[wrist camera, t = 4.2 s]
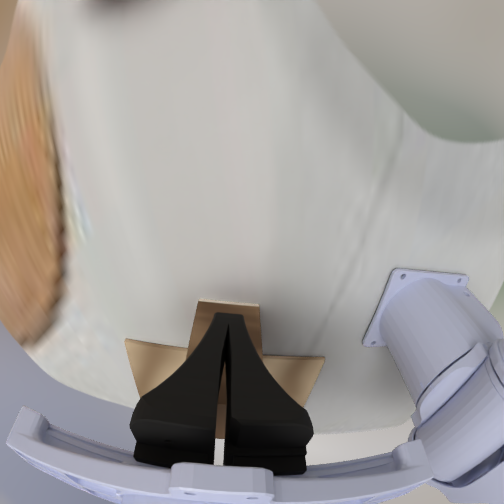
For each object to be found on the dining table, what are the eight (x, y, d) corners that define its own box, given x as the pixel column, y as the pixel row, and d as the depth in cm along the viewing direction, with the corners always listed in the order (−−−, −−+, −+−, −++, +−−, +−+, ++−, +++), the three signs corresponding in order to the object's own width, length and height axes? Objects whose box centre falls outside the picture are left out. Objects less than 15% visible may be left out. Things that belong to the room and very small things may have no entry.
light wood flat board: (324, 356, 24) (325, 359, 23) (300, 408, 28) (300, 411, 27) (125, 338, 22) (124, 341, 22) (140, 394, 26) (140, 397, 26)
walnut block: (259, 304, 21) (265, 406, 13) (251, 345, 23) (254, 440, 15) (198, 298, 20) (177, 399, 12) (198, 341, 22) (183, 434, 14)
